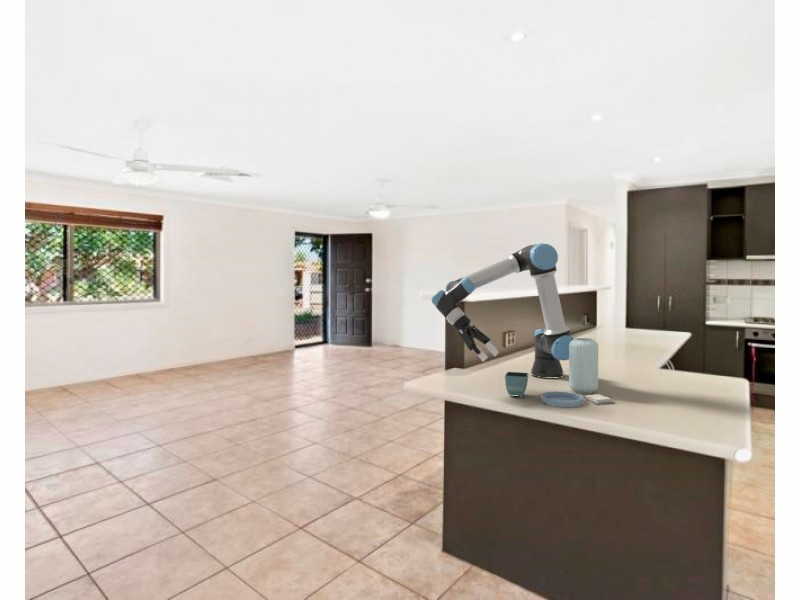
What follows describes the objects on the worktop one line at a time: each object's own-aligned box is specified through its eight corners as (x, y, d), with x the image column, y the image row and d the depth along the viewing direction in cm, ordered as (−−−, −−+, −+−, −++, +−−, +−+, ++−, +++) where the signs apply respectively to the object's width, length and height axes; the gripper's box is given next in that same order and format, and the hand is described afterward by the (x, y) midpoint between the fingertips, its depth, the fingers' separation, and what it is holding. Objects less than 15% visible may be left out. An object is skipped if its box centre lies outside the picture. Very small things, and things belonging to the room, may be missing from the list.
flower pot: (528, 393, 199) (528, 372, 199) (527, 399, 191) (526, 377, 191) (507, 392, 202) (507, 371, 202) (504, 397, 194) (504, 375, 194)
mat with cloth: (581, 398, 190) (581, 394, 190) (598, 396, 192) (598, 393, 192) (597, 405, 181) (597, 401, 181) (615, 403, 183) (615, 399, 182)
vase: (584, 395, 194) (584, 342, 193) (563, 390, 204) (563, 338, 203) (604, 392, 199) (604, 339, 198) (582, 386, 210) (582, 336, 208)
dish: (534, 398, 192) (534, 393, 191) (567, 395, 195) (567, 390, 195) (555, 408, 177) (555, 402, 177) (591, 405, 180) (591, 399, 180)
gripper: (464, 323, 221) (495, 357, 214) (440, 328, 199) (474, 367, 192) (475, 312, 217) (507, 347, 211) (452, 316, 196) (486, 355, 189)
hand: (491, 356), depth 201 cm, fingers open, 13 cm apart
